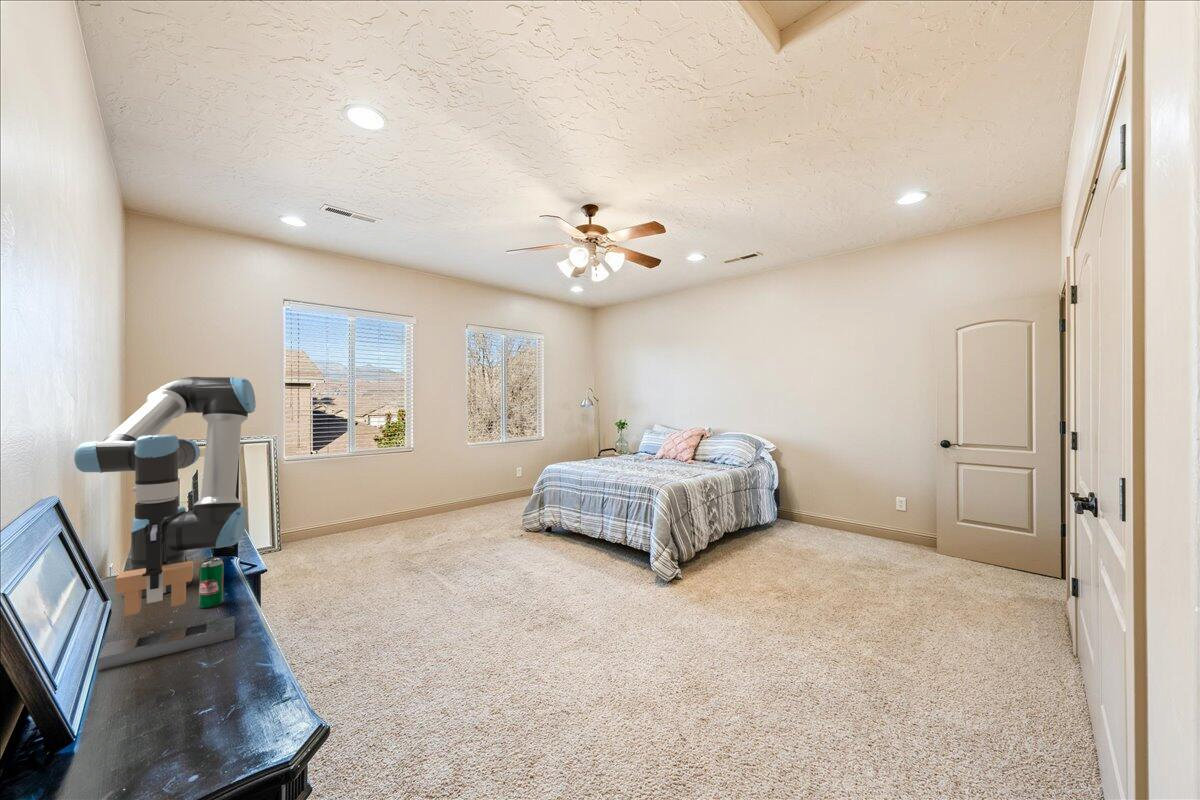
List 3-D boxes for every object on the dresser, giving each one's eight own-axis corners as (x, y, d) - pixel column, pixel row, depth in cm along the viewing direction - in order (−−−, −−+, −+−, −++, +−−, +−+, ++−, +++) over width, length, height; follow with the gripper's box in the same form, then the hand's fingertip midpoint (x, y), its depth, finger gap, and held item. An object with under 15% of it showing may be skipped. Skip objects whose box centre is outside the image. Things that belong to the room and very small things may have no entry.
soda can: (195, 610, 125) (195, 564, 125) (204, 602, 130) (204, 558, 130) (218, 607, 127) (218, 562, 127) (226, 600, 131) (226, 557, 132)
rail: (105, 654, 102) (106, 643, 102) (234, 626, 115) (234, 615, 116) (97, 670, 96) (97, 658, 96) (234, 638, 109) (234, 627, 109)
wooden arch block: (119, 610, 111) (119, 572, 111) (192, 596, 119) (193, 560, 119) (115, 618, 107) (115, 578, 107) (191, 603, 115) (191, 566, 115)
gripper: (141, 495, 117) (140, 589, 117) (128, 509, 103) (127, 615, 103) (181, 492, 122) (180, 582, 122) (174, 504, 108) (173, 606, 108)
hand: (156, 597), depth 113 cm, fingers closed on wooden arch block, 5 cm apart
